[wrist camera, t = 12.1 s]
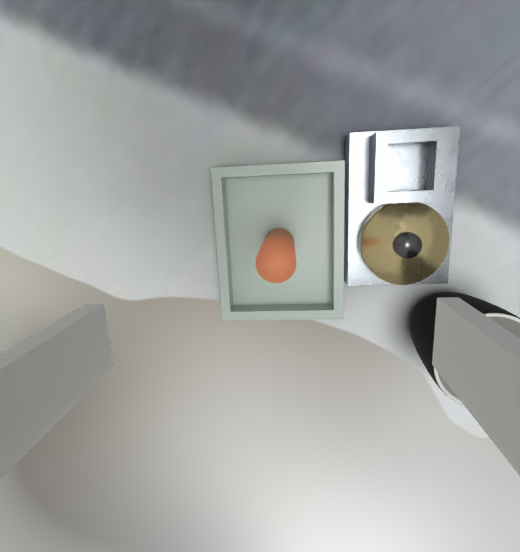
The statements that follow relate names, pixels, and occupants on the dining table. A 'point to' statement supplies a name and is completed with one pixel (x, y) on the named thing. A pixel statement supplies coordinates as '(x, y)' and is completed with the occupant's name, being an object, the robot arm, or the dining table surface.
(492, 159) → the dining table surface
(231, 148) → the dining table surface
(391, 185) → the pulley block
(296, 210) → the tray
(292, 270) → the pin
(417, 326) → the mug
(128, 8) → the dining table surface
